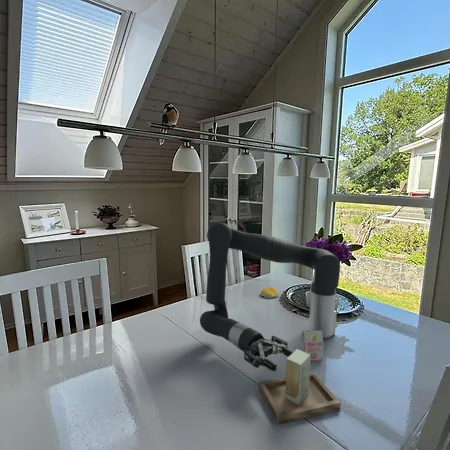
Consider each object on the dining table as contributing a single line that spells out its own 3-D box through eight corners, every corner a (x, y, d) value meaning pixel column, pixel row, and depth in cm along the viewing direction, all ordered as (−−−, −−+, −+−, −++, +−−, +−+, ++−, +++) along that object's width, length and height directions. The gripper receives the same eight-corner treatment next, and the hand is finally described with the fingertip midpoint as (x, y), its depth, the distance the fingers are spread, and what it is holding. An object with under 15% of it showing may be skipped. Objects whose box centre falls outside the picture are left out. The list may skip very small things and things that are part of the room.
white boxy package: (299, 355, 103) (300, 328, 102) (318, 354, 104) (319, 328, 102) (302, 361, 100) (304, 334, 98) (322, 361, 100) (324, 333, 99)
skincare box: (295, 386, 87) (297, 347, 85) (309, 393, 84) (311, 353, 82) (284, 398, 82) (285, 358, 80) (298, 406, 79) (300, 364, 77)
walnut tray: (313, 378, 92) (313, 371, 91) (340, 410, 79) (340, 402, 79) (258, 389, 87) (258, 382, 86) (278, 424, 74) (278, 416, 74)
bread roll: (258, 294, 157) (258, 287, 157) (272, 291, 161) (272, 284, 160) (266, 300, 150) (266, 292, 149) (281, 297, 153) (281, 290, 153)
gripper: (229, 335, 92) (269, 359, 80) (260, 321, 101) (300, 341, 89) (229, 357, 93) (268, 385, 81) (260, 341, 102) (299, 363, 90)
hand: (285, 362), depth 85 cm, fingers open, 8 cm apart
